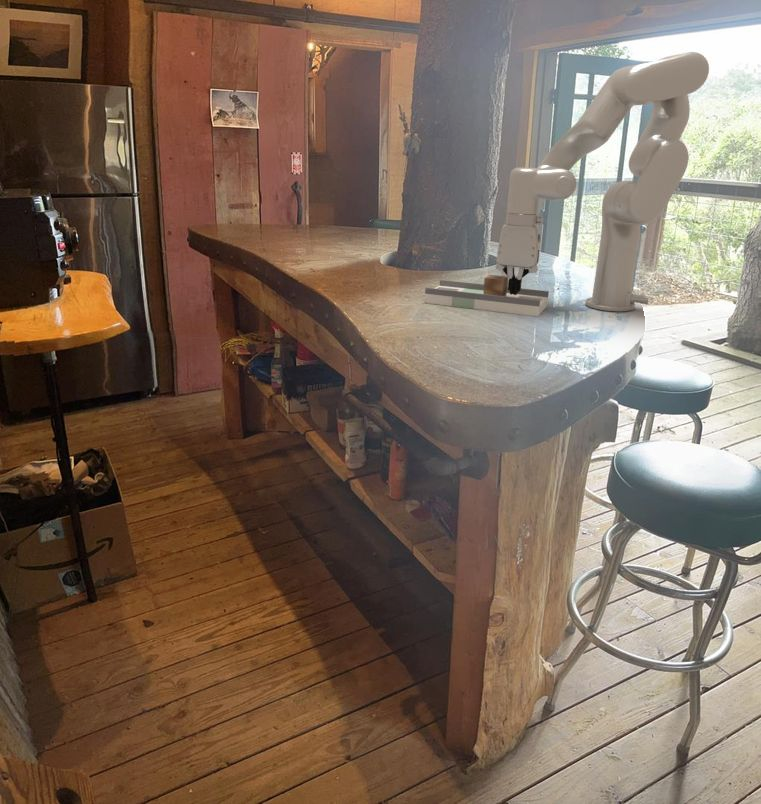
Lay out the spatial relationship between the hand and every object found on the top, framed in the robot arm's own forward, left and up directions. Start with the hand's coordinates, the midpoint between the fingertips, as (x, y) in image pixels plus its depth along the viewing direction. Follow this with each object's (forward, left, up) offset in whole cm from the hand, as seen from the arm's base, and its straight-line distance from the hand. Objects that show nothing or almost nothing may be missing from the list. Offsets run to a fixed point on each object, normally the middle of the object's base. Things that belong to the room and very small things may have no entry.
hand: (513, 293), depth 168 cm
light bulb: (+6, -19, -4) cm, 20 cm away
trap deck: (+7, 0, -4) cm, 8 cm away
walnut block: (+5, 0, -1) cm, 5 cm away
